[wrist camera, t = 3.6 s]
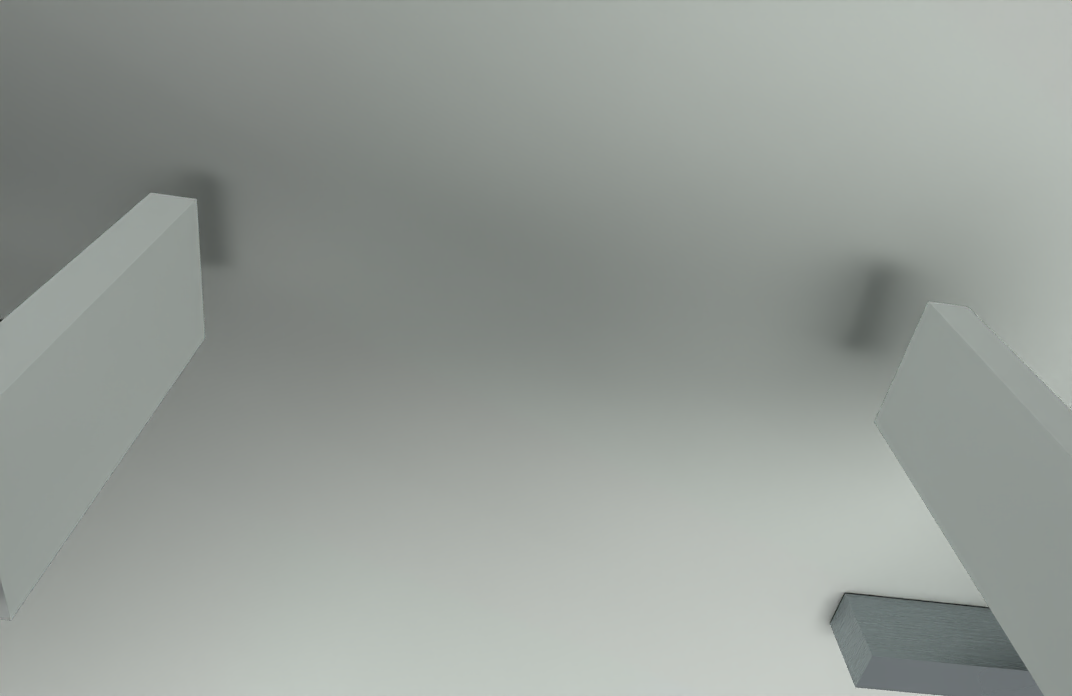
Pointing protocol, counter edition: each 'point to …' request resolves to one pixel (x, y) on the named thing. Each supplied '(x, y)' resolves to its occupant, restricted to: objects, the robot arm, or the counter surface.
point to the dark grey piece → (928, 648)
